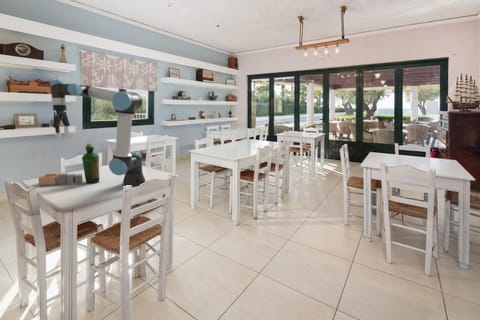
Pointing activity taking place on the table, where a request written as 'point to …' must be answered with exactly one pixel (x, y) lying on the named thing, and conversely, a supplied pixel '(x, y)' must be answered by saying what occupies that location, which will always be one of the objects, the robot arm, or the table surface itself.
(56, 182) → the terracotta bin
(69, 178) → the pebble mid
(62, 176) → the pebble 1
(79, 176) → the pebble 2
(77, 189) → the table surface
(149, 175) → the table surface
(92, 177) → the bottle
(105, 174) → the table surface
